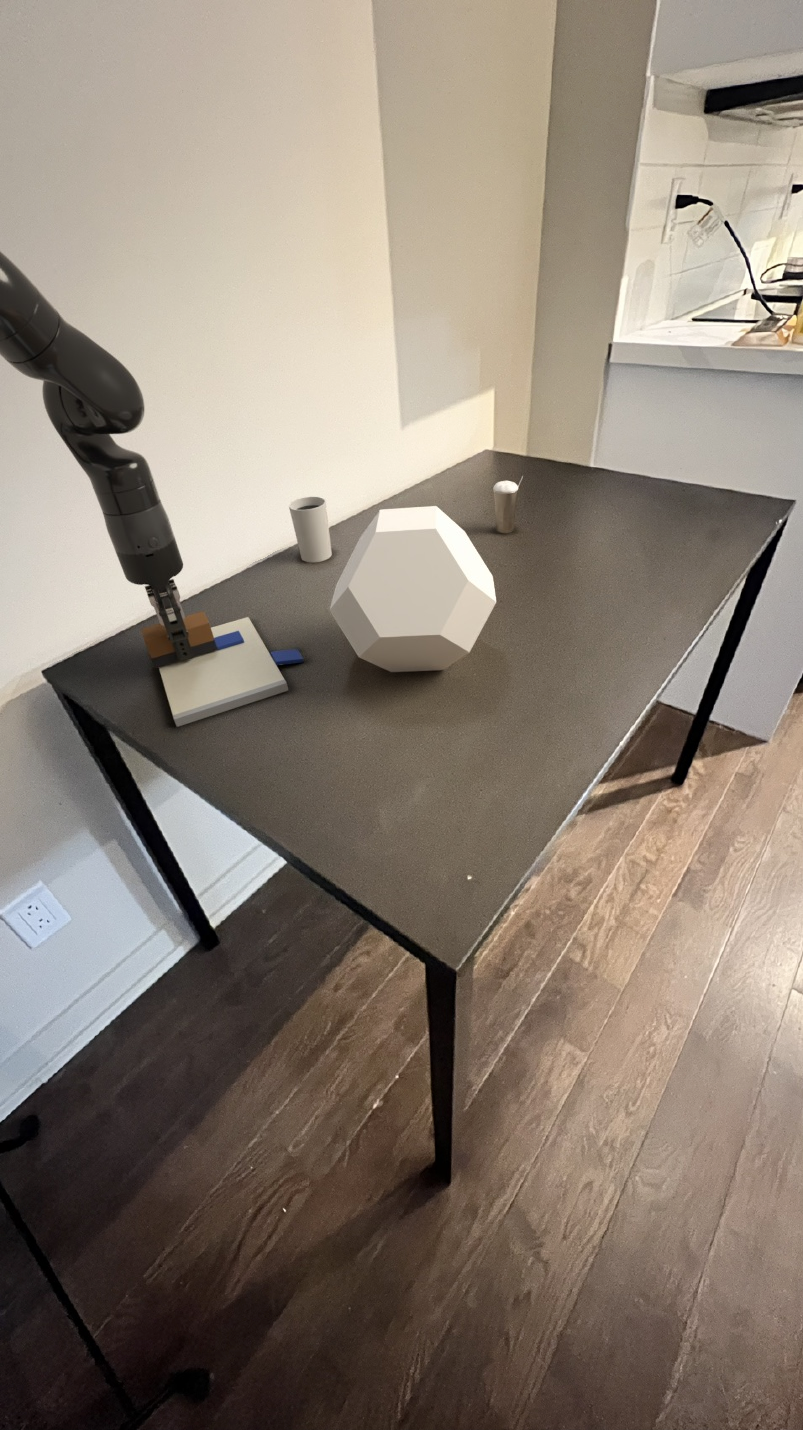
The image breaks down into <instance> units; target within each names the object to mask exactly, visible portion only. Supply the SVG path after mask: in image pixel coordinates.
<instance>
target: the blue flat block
mask: <svg viewBox="0 0 803 1430" xmlns="http://www.w3.org/2000/svg"><path fill="white" fill-rule="evenodd" d="M214 640H215V643H216V646H217V650H221V649H225V648H228V647H231V646H235V645H238V644H241V643H244V639H243V637H242V636H241V634H240V632H239V631H235V632H232V633H228V634H225V635H222V636H218V637H215V638H214Z"/></svg>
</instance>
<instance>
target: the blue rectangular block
mask: <svg viewBox="0 0 803 1430" xmlns="http://www.w3.org/2000/svg"><path fill="white" fill-rule="evenodd" d="M269 654H270V655H271V657H272V659H273V660H274V662H275V664H276V666H281V665H291V664H299V663H304V657H303V656H302V655H301V653H300V651H299V650H298V649H297V648H295V649H286V650H276V651H275V650H274V651H270V652H269Z"/></svg>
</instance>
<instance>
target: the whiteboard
mask: <svg viewBox="0 0 803 1430" xmlns="http://www.w3.org/2000/svg"><path fill="white" fill-rule="evenodd" d="M211 630H212V633H213V636H214V638H215V637H218V636H222V635H225V634H228V633H232V632H235V631H239V632H240V634H241V636H242V637H243V639H244V643H241V644H238V645H235V646H231V647H228V648H225V649H221V650H214V651H210V652H207V653H204V654H201V655H197V656H194V657H193V658H192V659H190V660H186V661H183V662H180V661H177V662H174V663H171V664H167V665H164V666H161V667H158V670H159V673H160V675H161V676H160V677H161V680H162V684H163V687H164V691H165V694H166V697H167V698H166V699H167V700H168V705H169V707H170V712H171V714H172V719H173V721H174V723H175V727H176V728H178V727H183V726H184V725H187V724H190V723H194V722H197V721H200V720H203V719H206V718H209V717H212V716H215V715H219V714H221V713H225V712H228V711H230V710H233V709H236V708H240V707H242V706H243V707H244V706H246V705H248V704H252V703H255V702H257V701H261V700H264V699H267V698H270V697H273V696H276V695H279V694H283V693H286V692H288V691H289V687H288V684H287V681H286V679H285V678H284V676H283V674H282V673H281V671H280V669H279V667H278V665H276V664H275V662H274V660H273V659H272V657H271V655H270V652H269V650H268V649H267V647H266V645H265V643H264V641H263V639H262V638H261V636H260V634H259V632H258V631H257V629H256V627H255V626H254V623H252V621H251V619H250V617H249V616H246V617H243V618H239V619H237V620H233V621H229V622H226V623H223V624H219V625H216V626H215V625H214V626H212V627H211Z"/></svg>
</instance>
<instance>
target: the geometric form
mask: <svg viewBox="0 0 803 1430" xmlns="http://www.w3.org/2000/svg"><path fill="white" fill-rule="evenodd" d="M496 596H497V595H496V590H495V583H494V576H493V574H492V573H491V571H490V570H489V568H488V566H487V564H486V563H485V562H484V560H483V558H482V556H481V555H480V553H479V552H478V551H477V549H476V547H475V546H474V544H473V542H472V541H471V539H470V537H469V536H468V535H467V532H466V531H465V530H464V529H463V528H462V527H461V526H459V525H458V524H457V523H456V522H455V521H454V520H453V519H451V517H449V516H448V515H447V514H446V513H445V512H443V510H441V508H439V507H438V506H437V505H430V506H416V507H415V506H414V507H399V508H398V507H397V508H385V509H383V508H381V509H379V511H378V512H377V513H376V514H375V516H374V517H373V519H372V520H371V522H370V523H369V524H368V526H367V527H366V528H365V530H364V531H363V533H362V534H361V535H360V536H359V538H358V541H357V543H356V544H355V547H354V549H353V550H352V552H351V555H350V556H349V559H348V561H347V563H346V565H345V567H344V569H343V571H342V572H341V575H340V577H339V578H338V581H337V583H336V585H335V589H334V592H333V596H332V599H331V603H330V606H329V609H328V610H329V612H330V614H331V616H332V617H333V619H334V621H335V622H336V623H337V625H338V627H339V628H340V630H341V632H342V633H343V635H344V636H345V638H346V639H347V642H348V643H349V644H350V646H351V648H352V649H353V651H354V653H355V654H356V656H357V657H358V658H360V659H362V660H364V661H366V662H368V663H370V664H373V665H375V666H377V667H379V668H381V669H384V670H386V671H388V672H390V673H404V672H405V673H407V672H430V671H431V672H432V671H444V670H445V669H447V668H449V667H450V666H452V665H454V663H456V662H457V661H459V660H461V659H462V658H464V657H465V656H467V655H468V654H470V653H471V651H472V649H473V647H474V645H475V643H476V641H477V639H478V638H479V636H480V634H481V632H482V630H483V628H484V626H485V625H486V622H487V621H488V619H489V617H490V616H491V613H492V611H493V610H494V607H495V606H496V604H497V597H496Z"/></svg>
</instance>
